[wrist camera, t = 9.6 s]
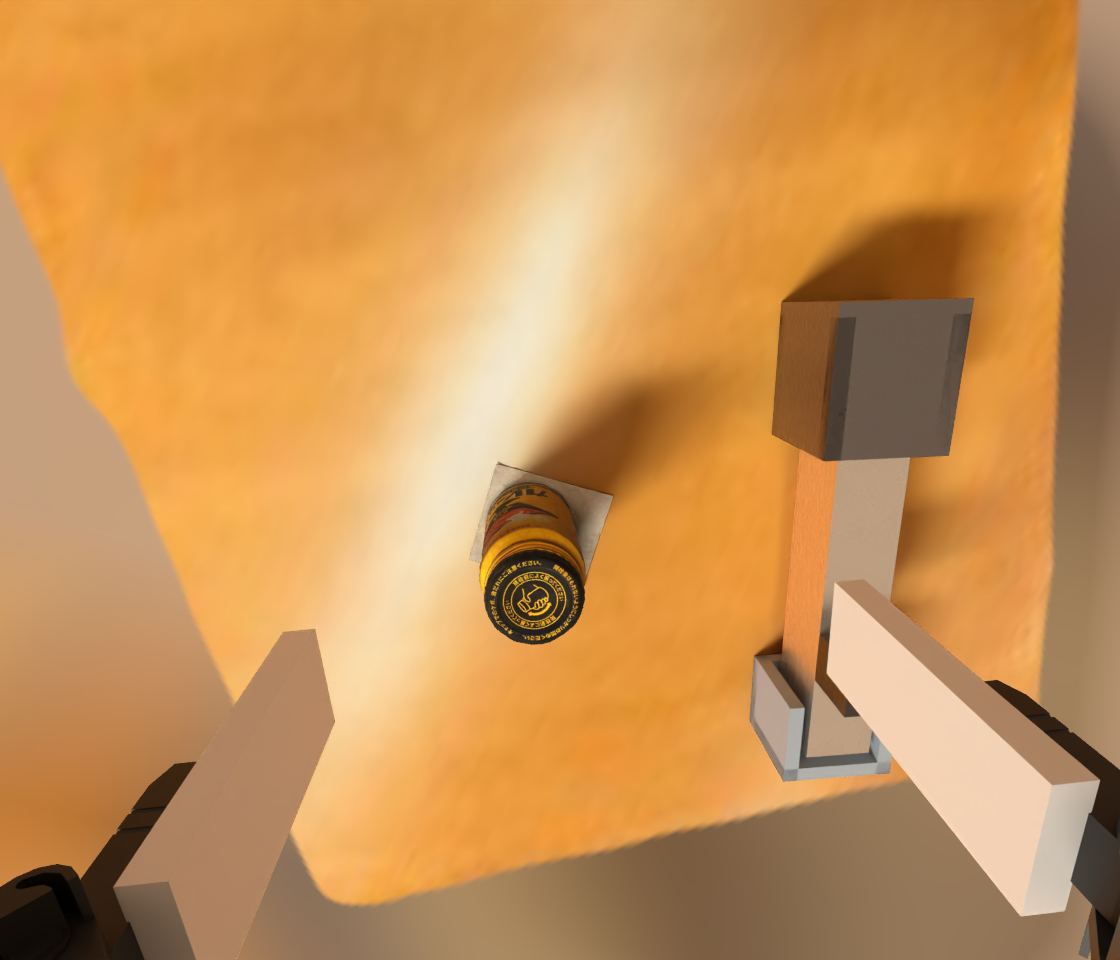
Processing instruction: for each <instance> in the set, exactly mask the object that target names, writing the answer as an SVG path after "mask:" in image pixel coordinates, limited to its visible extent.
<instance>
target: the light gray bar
mask: <svg viewBox="0 0 1120 960" xmlns="http://www.w3.org/2000/svg"><path fill="white" fill-rule="evenodd" d="M909 464H910V458H888V459H867V460H845V461H822V460H820V459H818V458H816V457H814V456H812V455H811V454H809V453H807V452H805V451H803V450H801V449H800V452H799V463H798V475H797V486H796V498H795V509H794V521H793V532H792V543H791V555H790V566H789V578H788V589H787V601H786V612H785V624H784V635H783V647H782V658H781V670H780V674H781V675H782V677H783V678H784V679H785V681H786V682H787V684H788V685H789V686H790V688H791V689H792V691H793V692H794V693H795V695H796V696H797V698H798V699H799V700H800V702H801V703H802V705H803V706H804V707H805V711H804V720H803V730H802V740H801V750H802V751H803V753H804V754H805V756H806V757H819V756H832V755H845V754H858V753H869V747H870V740H871V733H872V729H871V728H870V727H869V726H868V724H867V723H866V722H865V721H864V719H863V718H862V717H861V716H860V714H859V713H858V712H857V711H856V709H855V708H854V707H853V706H852V704H851V703H850V702H849V701H848V699H847V698H846V697H845V696H844V694H843V693H842V692H841V691H840V689H839V688H838V687H837V686H836V684H835V683H834V682H833V681H832V679H831V678H830V677H829V676H828V674H827V664H828V652H829V641H830V629H831V618H832V607H833V595H834V584H835V582H840V581H851V580H862V579H864V580H865V581H866V582H867V583H869V584H870V585H871V586H872V587H873V588H875V589H876V590H877V591H878V592H879V593H880V594H882V595H883V596H884V597H885V598H886V599H888V600H889V601H890V599H891V591H892V584H893V577H894V570H895V563H896V556H897V549H898V542H899V535H900V528H901V521H902V514H903V506H904V499H905V492H906V485H907V478H908V471H909Z"/></svg>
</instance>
